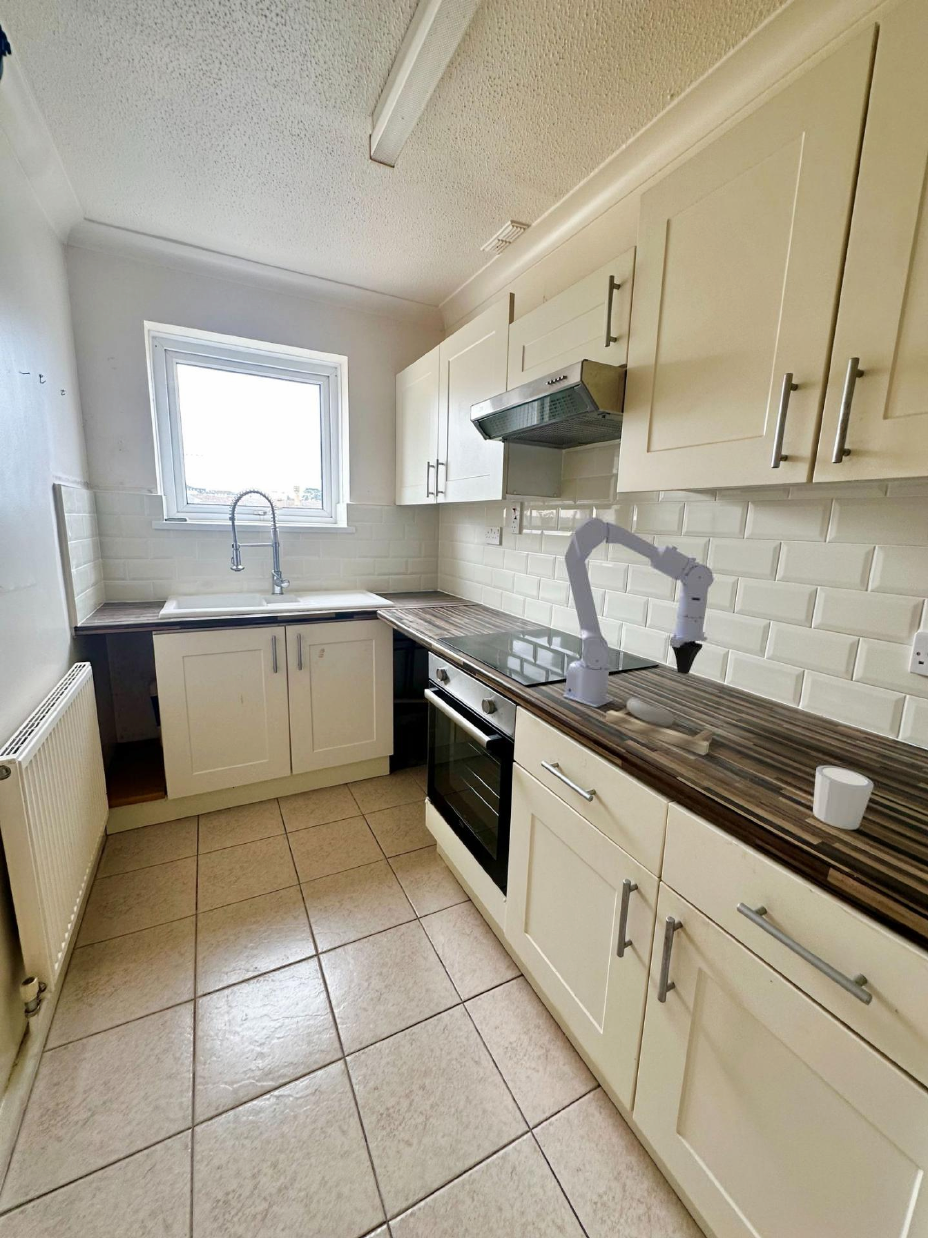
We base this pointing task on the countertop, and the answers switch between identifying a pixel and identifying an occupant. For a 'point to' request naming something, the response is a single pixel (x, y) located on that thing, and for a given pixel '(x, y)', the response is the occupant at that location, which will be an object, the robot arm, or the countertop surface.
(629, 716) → the drawer pull handle
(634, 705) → the white rubber ring
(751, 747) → the countertop surface
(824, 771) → the white cylinder
